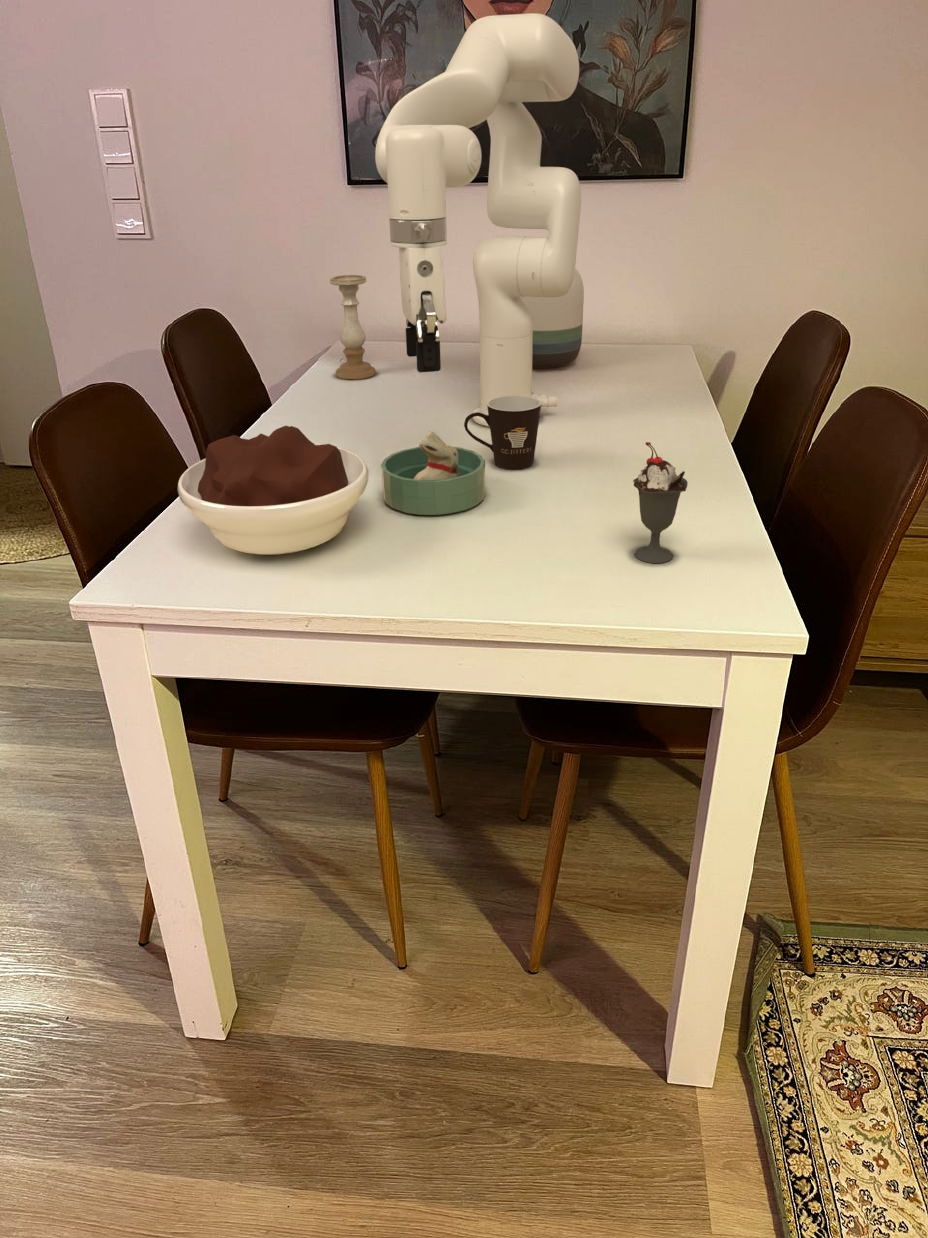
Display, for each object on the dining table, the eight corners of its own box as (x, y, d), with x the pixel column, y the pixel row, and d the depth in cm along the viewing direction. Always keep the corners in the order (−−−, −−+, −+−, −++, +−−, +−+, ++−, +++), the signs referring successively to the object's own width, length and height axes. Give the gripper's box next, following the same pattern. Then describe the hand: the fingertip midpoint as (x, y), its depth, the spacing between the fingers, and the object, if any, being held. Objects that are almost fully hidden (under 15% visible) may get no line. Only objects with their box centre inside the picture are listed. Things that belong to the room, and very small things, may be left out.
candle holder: (383, 372, 201) (377, 275, 191) (359, 381, 195) (351, 282, 185) (352, 367, 205) (344, 272, 195) (327, 376, 199) (318, 279, 189)
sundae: (621, 545, 120) (629, 436, 113) (671, 543, 121) (682, 434, 113) (634, 568, 115) (643, 454, 107) (686, 565, 115) (698, 451, 108)
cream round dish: (343, 584, 112) (331, 468, 105) (156, 572, 116) (132, 460, 109) (392, 507, 134) (385, 406, 126) (232, 499, 138) (216, 401, 130)
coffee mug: (545, 456, 151) (547, 397, 146) (532, 474, 144) (533, 412, 139) (479, 450, 154) (478, 392, 150) (463, 467, 147) (461, 407, 142)
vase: (531, 351, 215) (532, 242, 203) (594, 360, 206) (599, 247, 194) (491, 367, 203) (490, 252, 191) (556, 377, 194) (559, 257, 182)
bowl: (472, 475, 144) (472, 441, 142) (495, 511, 131) (495, 475, 129) (378, 484, 142) (375, 450, 139) (391, 522, 129) (389, 485, 126)
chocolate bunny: (461, 500, 134) (460, 435, 129) (408, 503, 134) (405, 437, 129) (458, 486, 139) (457, 423, 134) (407, 489, 139) (404, 425, 134)
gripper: (458, 238, 114) (461, 376, 122) (435, 225, 129) (438, 348, 137) (399, 241, 112) (405, 379, 121) (382, 227, 127) (389, 351, 136)
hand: (423, 363), depth 129 cm, fingers open, 9 cm apart
